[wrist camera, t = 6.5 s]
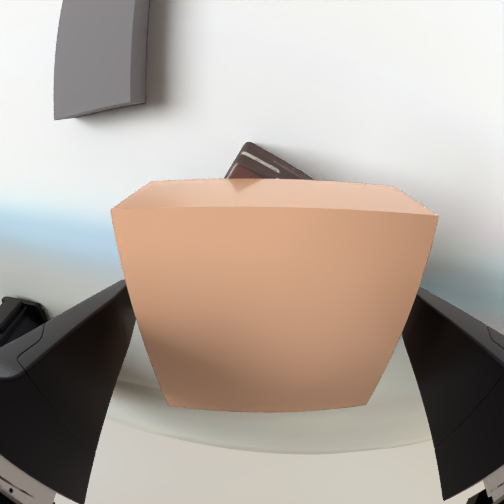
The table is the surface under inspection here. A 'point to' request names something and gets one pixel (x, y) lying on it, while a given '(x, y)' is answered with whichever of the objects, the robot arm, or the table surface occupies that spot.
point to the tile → (271, 287)
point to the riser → (100, 56)
